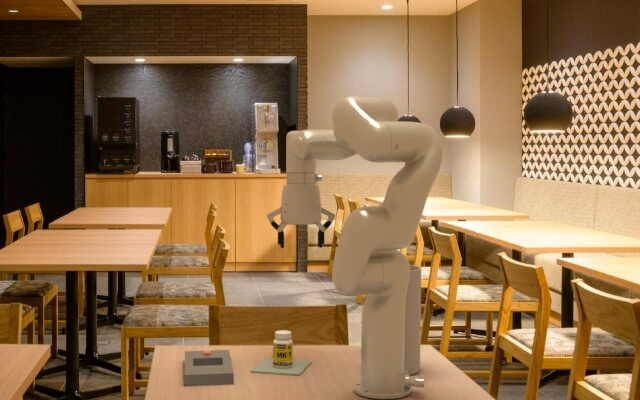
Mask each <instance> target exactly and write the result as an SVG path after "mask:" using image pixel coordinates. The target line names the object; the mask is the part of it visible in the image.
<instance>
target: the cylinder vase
mask: <svg viewBox="0 0 640 400" xmlns="http://www.w3.org/2000/svg"><path fill="white" fill-rule="evenodd" d="M421 317H422V267H420V266H418V265H413V264H410V278H409V283H408V288H407V293H406V303H405V345H404V369H407V375H410V376H414V375H416V374H417V373H418V372H419V371H420V369H421V333H422V330H421V325H422V322H421V320H422V318H421Z"/></svg>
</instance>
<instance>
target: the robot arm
mask: <svg viewBox="0 0 640 400" xmlns="http://www.w3.org/2000/svg"><path fill="white" fill-rule="evenodd" d="M331 113H332V114H331V116H332V117H331V121H332V129H321V128H320V129H302V130H291V131H289V132H287V134H286V139H285V140H286V141H285V143H286V147H285V151H286V153H285V155H286V157H285V158H286V159H285V161H286V163H285V164H286V165H285V166H286V168H285V169H286V170H285V171H286V172H285V176H286V178H285V180H286V184H283V186H282V190H281V198H280V200H281V201H280V207H279V208H277V209H274V210H273V211H271V212H269V213H267V214H266V217H267V220H268V221H269V223H270V226H271V227H273V228H274V229H275V231H276V232H277V245H279V246H280V249H284V248H285V233H284V229H285V228H286V226H290V225H291V226H296V225H298V226H299V225H302V226H303V225H305V226H306V225H315V226H316V227H317V228H318V231H317V247H318V248H322V247H323V245H324V244H325V232H326V230H328V229H329V227H331V226H332V223H333V222H334V220H335V218H336V214H335V213H334V212H331V211H330V210H327V209H326V208H323V207H322V203H321V202H322V201H321V199H322V198H321V190H320V186H319V184H317V182H319V181H322V180H323V179H322V178H323V175H319V174H318V173H317V161H340V160H341V161H342V160H346V159H349V158H351V157H353V156H356V155H358V156H359V157H361V158H362V159H364V160H365V161H367V162H370V163H376V164H377V163H380V164H381V163H404V166H403V167H402V168H401V169H399V171H398V172H397V173H396V174H395V175H394V176H393V178H392V179H391V180H390V182H389V183H388V186H387V189H386V193H385V196H384V199H383V201H382V203H381V204H378V205H376V206H375V205H369V206H362V207H358V208H355V209H354V210H352V211H351V212H350V213H349V214H348V215H347V217H346V219H345V221H344V223H343V227H342V230H341V234H340V237H339V241H338V245H337V249H336V253H335V255H334V260H333V263H332V264H333V265H332V270H331V271H332V272H331V276H332V283H333V285H334V288H335V290H336V291H337V292H338V293H340V294H341V295H344V296H348V297H352V296H353V297H354V296H356V297H357V296H364V295H367V297H366V298H365V301H364V302H363V305H362V311H361V322H360V323H361V327H360V328H361V333H360V334H361V335H360V336H361V337H360V341H361V343H360V344H361V345H360V346H361V348H360V354H361V355H360V359H361V360H360V380H359V381H356V383H355V384H354V385H353V391H354V393H356V394H357V395H358V396H362V397H364V398H367V399H368V398H370V399H376V400H394V399H401V398H404V397H407V396H409V395H410V394H411V393H412V387H416V388H425V378H424V377H423V378H421V376H417V375H407V369H404V345H405V303H406V293H407V288H408V283H409V278H410V265H411V264H410V261H409V259H408V257H407V256H406V255H405V254H404V252H402V251H401V250H402V249H405V248H408V247H409V246H411V244H412V243H413V242H414V239H415V237H416V235H417V231H418V228H419V226H420V222H421V220H422V215H423V212H424V210H425V206H426V203H427V200H428V196H429V194H430V192H431V189H432V188H433V185H434V183H435V181H436V179H437V177H438V175H439V173H440V170H441V167H442V163H443V155H444V154H443V144H442V139H441V138H440V135H439V133H438V132H437V131H436V130H435V128H433V127H432V126H431V125H428V124H426V123H423V122H416V121H398V120H399V111H398V108H397V107H396V106H395V103H393V102H392V101H391V100H389V99H387V98H384V97H380V96H379V97H378V96H359V95H358V96H356V95H349V96H345V97H342V98H341V99H340V100H338V101H337V103H335V105H334V107H333V110H332V112H331ZM278 215H280V221H281V222H280V223H279V224H278V223H277V222H276V221H275V219H274V218H275V217H276V216H278ZM322 215H325V216H327V217H328V218H327V220H326V221H325V222H324V223H323V224H322Z"/></svg>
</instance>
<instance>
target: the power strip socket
mask: <svg viewBox="0 0 640 400" xmlns="http://www.w3.org/2000/svg"><path fill="white" fill-rule="evenodd" d="M231 359H232V358H231V353H230V349H218V350H217V349H215V350H213V349H211V350H209V349H208V350H187V351H186V350H185V351H184V387H189V386H191V387H192V386H209V385H210V386H212V385H213V386H216V385H234V383H235V382H234V381H235V380H234V379H235V376H234V375H235V374H234V368H233V363H232V360H231Z"/></svg>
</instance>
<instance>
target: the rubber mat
mask: <svg viewBox="0 0 640 400" xmlns="http://www.w3.org/2000/svg"><path fill="white" fill-rule="evenodd" d="M310 365H312V361H311V360H310V361H309V360H296V359H295V360H294V359H293V364H292V366H291V367H289V368H276V367H274V366H273V358H264V359H263V360H262V361H260V362H259V363H258V364H256V365H255V366H254V367H253V368H252V369H251V370H250V373H254V374H268V375H270V374H271V375H282V376H283V375H284V376H296V377H297V376H298V377H299V376H301V375H302V374H303V373H304V371H306V369H308V367H309V366H310Z"/></svg>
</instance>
